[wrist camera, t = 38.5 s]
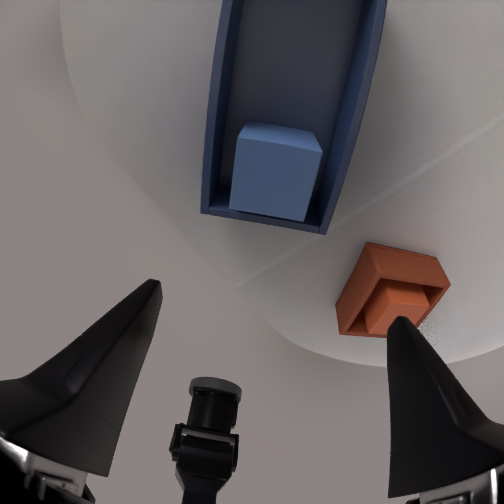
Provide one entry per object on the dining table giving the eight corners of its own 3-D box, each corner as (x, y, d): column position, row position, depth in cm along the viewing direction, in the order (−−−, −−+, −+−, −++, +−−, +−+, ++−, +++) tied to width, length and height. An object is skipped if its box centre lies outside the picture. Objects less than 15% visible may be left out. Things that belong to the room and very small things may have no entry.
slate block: (238, 179, 17) (228, 209, 14) (247, 120, 15) (237, 136, 12) (299, 189, 17) (303, 222, 14) (313, 132, 15) (323, 152, 12)
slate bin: (212, 188, 18) (199, 213, 16) (243, -38, 8) (235, -59, 6) (319, 207, 19) (325, 235, 16) (371, -13, 8) (391, -27, 6)
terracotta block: (360, 298, 23) (367, 333, 20) (378, 265, 21) (390, 302, 18) (395, 302, 23) (405, 336, 20) (415, 272, 21) (430, 306, 18)
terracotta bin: (335, 305, 25) (339, 334, 22) (366, 242, 20) (377, 271, 17) (399, 312, 25) (407, 339, 22) (436, 257, 20) (451, 284, 17)
